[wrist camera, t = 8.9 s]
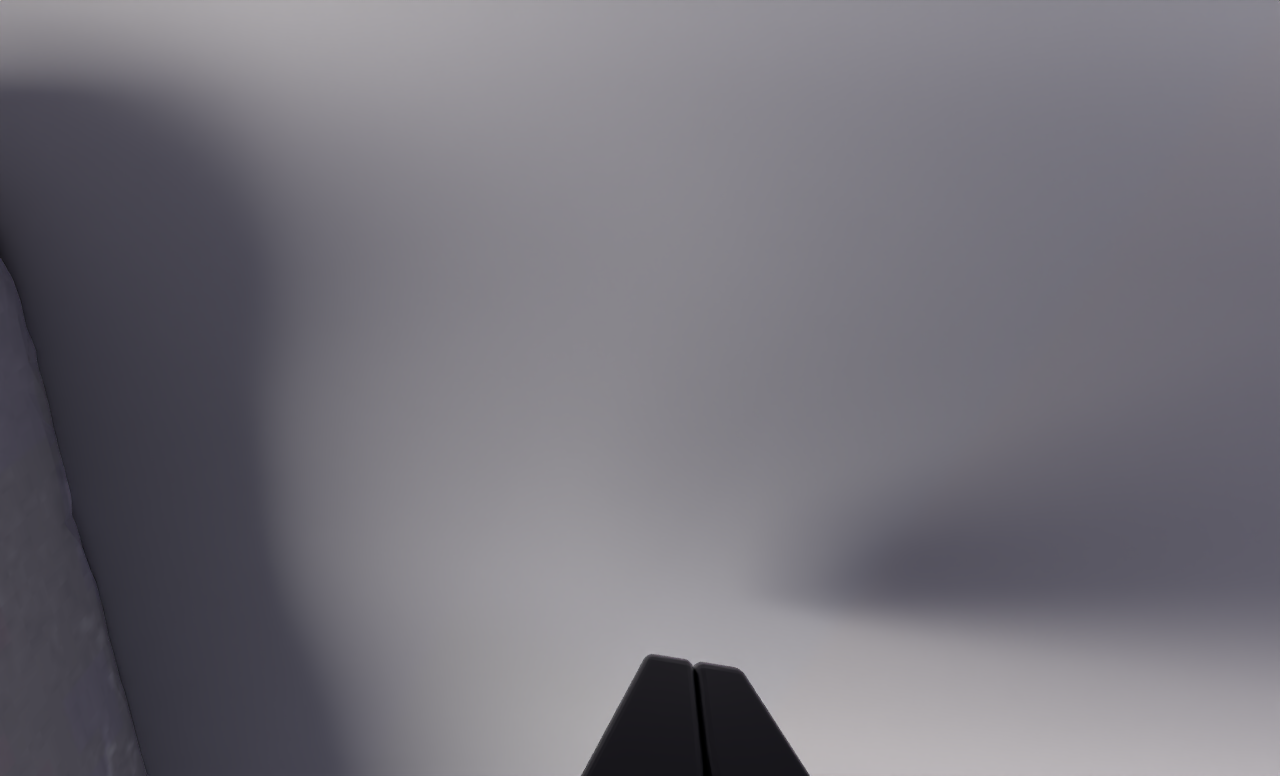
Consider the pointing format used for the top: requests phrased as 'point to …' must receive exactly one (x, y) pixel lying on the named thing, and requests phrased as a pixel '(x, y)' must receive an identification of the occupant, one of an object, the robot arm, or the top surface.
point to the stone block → (49, 594)
